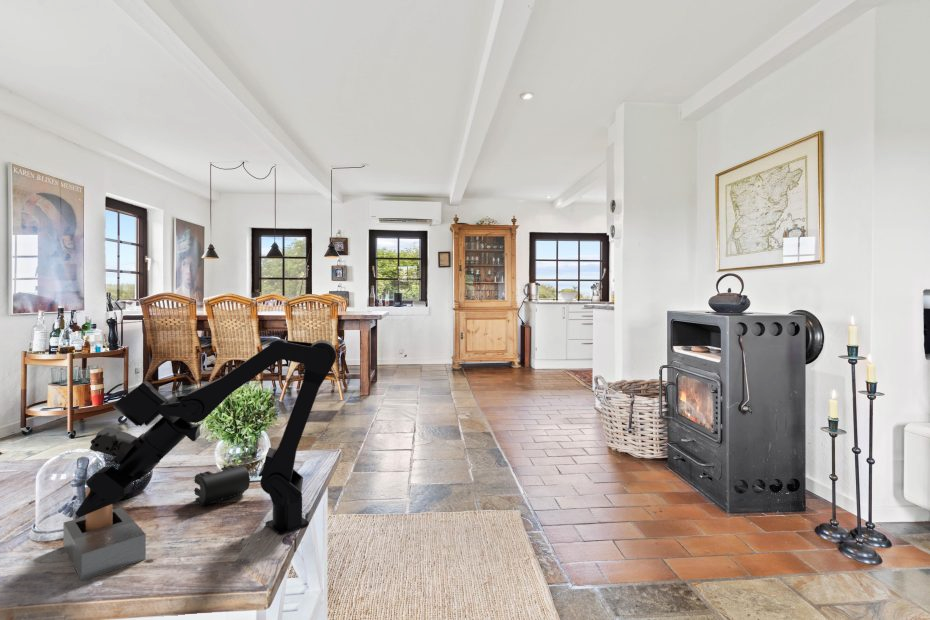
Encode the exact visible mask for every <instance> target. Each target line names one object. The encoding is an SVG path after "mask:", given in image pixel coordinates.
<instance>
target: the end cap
mask: <svg viewBox="0 0 930 620" xmlns="http://www.w3.org/2000/svg"><path fill="white" fill-rule="evenodd" d="M220 470H221V471H217V472H214V473H213V472H211V471H205V472H200V473H196V474H195V476H194V481H193V482H194V483H195V484H196V485H198V486H199V488H198V487H194V490H193V492H194V494H195V496H197V497H195V502H196V503H198V505H200V506H203V507H204V506H207V505H212V504H214V503H217V502H220V501H224V500H227V499H230V498H233V497H236V496H239V495H242V494H244V493H245V492H246V491H248V489H249V487H250V485H251V484H250V483H251V479H250V473H249V470H248V468H247V467H246V466H245V465H240V466H235V465H233V464H229V465H227V466H222V467H221V469H220Z"/></svg>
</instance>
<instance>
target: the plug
mask: <svg viewBox="0 0 930 620" xmlns="http://www.w3.org/2000/svg"><path fill="white" fill-rule="evenodd" d="M89 492H90V488H89V487H88V488H86V489H85V498H86V497H87V495H88V494H89ZM113 506H114V504H111V505H108V506H106V507H103V508H101V509H98V510H96V511H93V512H91V513H89V514H86V515H85V517H86V532H89V531H92V530H96V529H99V528H103V527H106V526H110V525H113V509H114V507H113Z"/></svg>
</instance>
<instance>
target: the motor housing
mask: <svg viewBox="0 0 930 620" xmlns="http://www.w3.org/2000/svg"><path fill="white" fill-rule="evenodd" d="M62 528H63V534H62V535H63V543H62V544H63V548H64V551H65V553H66V554H67V556H68V557H69V560H70V562H71V564H72V566H73V568H74V569H75V571H76V573H77V575H78V577H79V579H80V581H81V582H83V581H86V580H89V579H92V578H96V577H99V576H100V575H104V574H107V573H111V572H112V571H115V570H118V569H121V568H124V567H126V566H131V565H132V564H135V563H138V562H140V561H144V560H146V558H147V556H146V555H147V553H146V549H147V548H146V546H147V545H146V543H147V542H146V541H147V540H146V539H147V535H146V533H145V531H144V530H143V529H142V527H140V526H139V525H138V524H137V523H136V521H134V519H133V518H132V517H131V516H130V515H129V514H128V513H127V511H126V510H125V509H124V508H123V507H122V506H120V507H117V508H113V525H110V526H106V527H103V528H99V529H96V530H92V531H89V532H86V516H82V517H78V518H75V519H71V520H68V521H63V526H62Z"/></svg>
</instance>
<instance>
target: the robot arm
mask: <svg viewBox="0 0 930 620" xmlns="http://www.w3.org/2000/svg"><path fill="white" fill-rule="evenodd" d="M336 351H337V350H336V347H334V344H333V343H332V342H329V341H328V340H325V339H324V340H323V339H321V340H316V341H315V342H308V341H296V340H286V339H284V338H277V339H274V340H272V342H270V344H268V346H266V347H265V348H263V349H262V350H260V351H259V352H258V353H256V354H255V355H252V356H251V357H250V358H249V359H247V360H245V361H244V362H242V363H240V364H239V365H238V366H237V367H235V368H233V369H232V370H231V371H229V372H228V373H226V374H225V375H224V376H221V377H219V378H217V379H215V380H213V381H210V382H208V383H205V384H203V385H201V386H199V387H197V388H195V389H192V391H190V392H188V393H186V394H185V395H184V394H183V395H178V396H172V397H170V398H169V399H168V398H166V397H165V396H164V395H162V394H161V393H160V392H159V391H158V390H157V389H156V388H155V387H154V385H152V384H151V382H149V381H147V380H146V381H143V382H141V383H140V384H139V385H138V386H136V387H135V388H134V389H132V390H131V391H130V392H128V393H127V394H125V395H123V396H122V397H121V398H120V399H119V400H117V402H115V403H114V404H113V406H112V407H113V408H114V409H115V410H117V412H119V413H120V414H122V415H123V417H125V418H126V419H127V420H129V422H131V423H132V424H133V425H134V426H135V427H143V425H145V426H146V427H149V425H150V424H151V423H153V422H154V421H155V420H156V419H157V418H158V417H160V416H162V417H161V418H160V419H159V420H158V421H156V422H155V423H154V424H153V425H151V427H149V428H148V429H147V430H146V431H145V432H143V433H141V434H140V435H139V436H138V437H137V436H135V435H132V434H131V433H129V432H126V431H122V430H121V429H120V430H119V429H116V428H115V427H110V426H109V427H105V428H103V429H101V430H99V431H98V432H97V434H96V435H95V437H94V438H92V439H91V440H90V444H91V445H90V447H89V450H91V451H93V452H98V453H101V454H105V455H109V456H112V457H113V458H112V459H111V461H112V462H113V463H115V464H116V465H118V469H117V468H115V467H114V466H113V465H112V466H111V465H107V466H106V465H105V466H103V467H102V468H100V469H99V470H97V471H96V472H95V473H93V474H92V475H91V476H90V477H89V478H88V479H87V480H86V481H85V483H86V486H87V487H88V488H90V492H89V494H88V495H87V497H86V496H85V498H84V500H83V501H82V503H81V504H80V506H79V507H78V508H77V510H76V511H75V513H74V514H75V515H76V516H77V517H78V518H82V517H85V516H86V514H89V513H91V512H93V511H96V510H98V509H101V508H103V507H106V506H108V505H111V504H113V505H117V503H119V502H120V500H121V499H123V498H124V497H125V496H126V495H127V494H128V493H129V492H130V491H131V490H132V489H133V482H136V481H137V480H141V479H142V478H143V477H145V476H146V475H148V474H149V473H150V472H151V471H152V470H153V469H154V468H155V467H156V466H157V465H158V464H159V463H161V460H162V459H163V458H164V457H165V456H167V455H168V453H169V452H171V451H172V450H173V449H174V448H175V447H176V446H177V445H178V444H180V443H181V441H183V439H184V438H186V437H187V438H188V439H189V440H190V441H191V442H195V441H197V439H199V437H200V436H201V429H200V428H201V424H200V422H202V421H204V420H206V418H207V417H208V416H209V415H210V414H212V412H214V410H215V409H217V408H218V406H219V405H221V404H222V403H223V402H224V401H225V400H226V399H228V397H229V396H230V395H231V394H232V393H234V392H235V391H237V390H238V389H239V388H242V386H244V385H245V384H247V383H248V382H250V381H251V380H253V379H254V378H256V377H257V376H258V375H260V374H261V373H263V372H264V371H266V370H267V369H269V368H270V367H271V366H273V365H274V364H276V363H278V362H279V361H289V362H293V363H298V364H303V365H304V371H303V377H302V382H301V385H300V388H299V392H298V393H297V396H296V399H295V401H294V405H293V407H292V410H291V412H290V415H289V418H288V421H287V424H286V425H285V428H284V431H283V435H282V437H281V440H280V442H279V443H278V445H277V446H276V448H272V447H269V448H268V449H267V453H266V454H265V458H264V462H263V463H262V466H261V468H260V469H259V470H260V471H259V473H258V477H261V478H260V487H261V489H262V490H263V492H265V494H267V495H268V496H269V497H270V499H271V503H272V519H270V520H268V521H265V526H266V527H268V528H269V529H271V530H272V531H273V532H275V533H276V534H277V535H280V536H281V535H284V534H288V533H289V532H292V531H294V530H298V529H300V528H302V527H305V526H307V525H309V523H310V521H309V520H308V519H306V518H304V517H303V493H302V491H303V483H304V476H302V475H301V474H300V473H299V472H297V470H295V469H294V468H295V462H296V455H297V450H298V447H299V444H300V441H301V440H302V439H301V438H302V437H303V433H304V432H305V428H306V426H307V423H308V420H309V417H310V414H311V411H312V409H313V406H314V403H315V402H316V398H317V395H318V393H319V389H320V387H321V386H322V384H323V383H324V381H325V380H326V378H327V376H328V375H329V373H330V371H331V370H332V368H333V366H334V365H335V363H336V359H337V353H336ZM196 423H197V424H196Z"/></svg>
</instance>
